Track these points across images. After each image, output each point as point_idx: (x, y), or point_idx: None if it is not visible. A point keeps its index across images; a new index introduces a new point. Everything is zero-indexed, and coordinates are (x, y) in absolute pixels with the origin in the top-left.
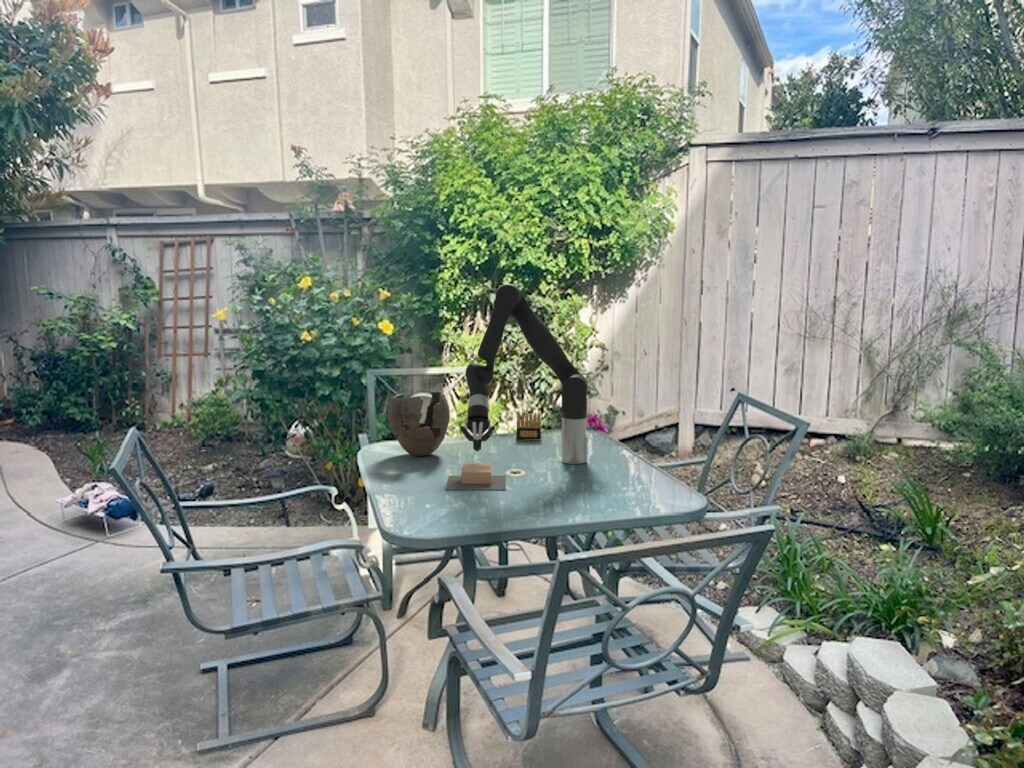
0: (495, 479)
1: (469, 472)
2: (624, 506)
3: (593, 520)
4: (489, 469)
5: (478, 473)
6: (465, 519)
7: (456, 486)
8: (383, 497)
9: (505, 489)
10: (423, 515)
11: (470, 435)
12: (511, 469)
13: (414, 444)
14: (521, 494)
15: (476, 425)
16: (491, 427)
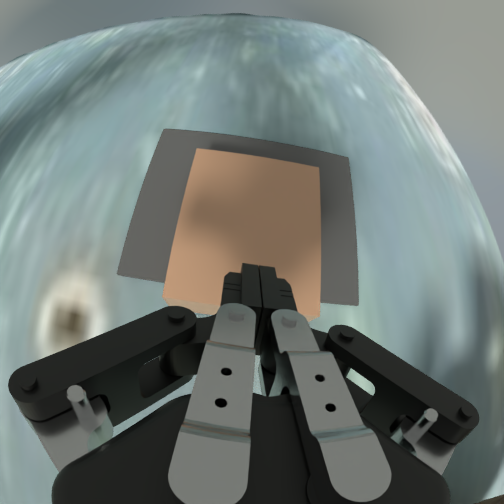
0: (169, 227)
1: (286, 162)
2: (16, 76)
3: (90, 34)
4: (194, 183)
5: (248, 157)
6: (280, 39)
7: (319, 173)
8: (451, 157)
9: (164, 129)
10: (352, 64)
11: (345, 342)
12: None
13: (487, 500)
14: (134, 104)
15: (300, 476)
16: (47, 393)
